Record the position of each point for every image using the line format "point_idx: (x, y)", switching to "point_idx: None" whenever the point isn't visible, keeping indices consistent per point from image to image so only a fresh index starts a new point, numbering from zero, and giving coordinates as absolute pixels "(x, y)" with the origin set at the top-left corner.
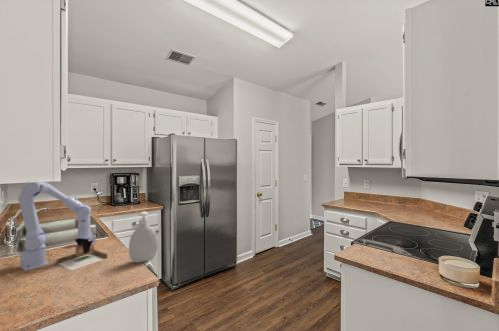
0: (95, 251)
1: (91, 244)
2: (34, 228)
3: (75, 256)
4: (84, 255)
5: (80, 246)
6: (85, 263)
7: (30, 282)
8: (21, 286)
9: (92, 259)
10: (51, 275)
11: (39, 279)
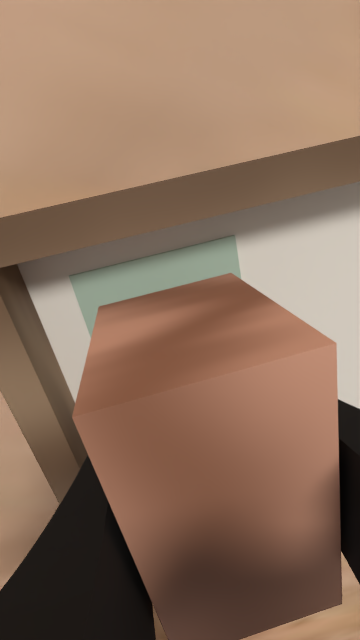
0: (170, 226)
1: (332, 399)
2: None
3: (86, 452)
4: (58, 345)
5: (281, 597)
6: (357, 374)
7: (343, 619)
8: (356, 637)
9: (305, 295)
10: (343, 556)
11: (343, 595)
